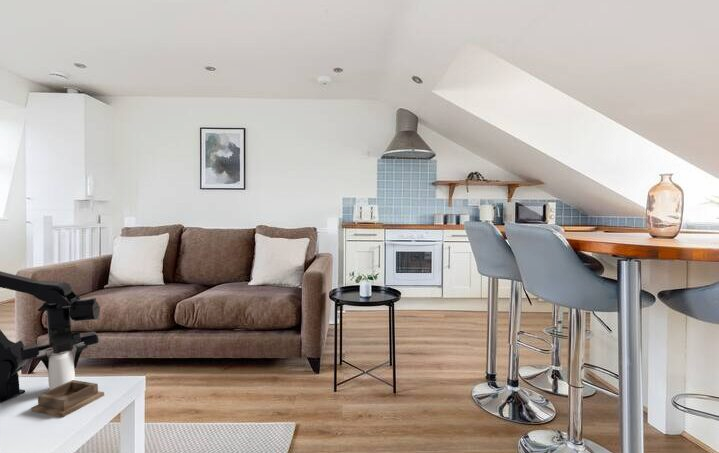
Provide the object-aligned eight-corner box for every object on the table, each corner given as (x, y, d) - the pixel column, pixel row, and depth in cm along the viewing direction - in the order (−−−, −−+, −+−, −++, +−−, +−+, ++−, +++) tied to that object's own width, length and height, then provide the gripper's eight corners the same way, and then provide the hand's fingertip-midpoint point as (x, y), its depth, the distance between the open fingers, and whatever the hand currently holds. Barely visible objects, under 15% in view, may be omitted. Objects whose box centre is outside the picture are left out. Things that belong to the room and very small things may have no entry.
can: (60, 394, 114) (57, 356, 113) (43, 392, 115) (40, 355, 114) (80, 384, 120) (78, 348, 119) (64, 382, 121) (61, 347, 121)
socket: (31, 410, 105) (30, 397, 105) (74, 390, 116) (74, 378, 116) (63, 417, 101) (62, 402, 101) (104, 395, 113) (103, 382, 113)
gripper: (20, 336, 104) (24, 390, 105) (100, 321, 117) (103, 369, 118) (18, 327, 112) (22, 378, 113) (93, 314, 125) (96, 359, 126)
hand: (62, 371), depth 117 cm, fingers closed on can, 6 cm apart
